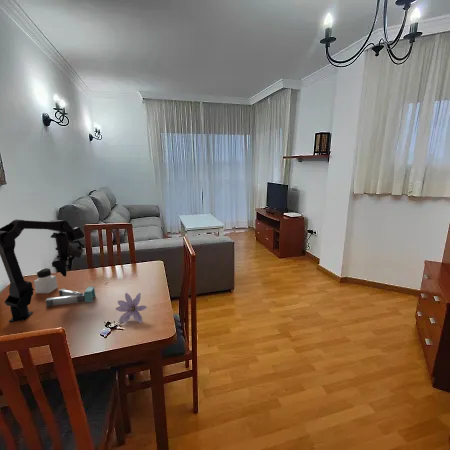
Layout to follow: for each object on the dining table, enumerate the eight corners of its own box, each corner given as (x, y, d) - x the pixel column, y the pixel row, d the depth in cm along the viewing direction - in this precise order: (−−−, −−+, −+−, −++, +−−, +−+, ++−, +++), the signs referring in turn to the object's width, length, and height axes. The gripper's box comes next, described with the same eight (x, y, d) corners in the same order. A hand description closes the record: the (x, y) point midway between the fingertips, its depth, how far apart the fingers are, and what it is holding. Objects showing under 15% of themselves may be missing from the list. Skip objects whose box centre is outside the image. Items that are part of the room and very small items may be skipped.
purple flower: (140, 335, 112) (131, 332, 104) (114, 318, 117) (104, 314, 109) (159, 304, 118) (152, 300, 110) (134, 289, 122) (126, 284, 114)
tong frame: (86, 298, 130) (85, 292, 129) (83, 302, 126) (82, 296, 125) (50, 302, 127) (49, 296, 126) (46, 306, 123) (45, 300, 122)
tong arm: (81, 296, 131) (80, 291, 130) (77, 299, 129) (76, 293, 128) (63, 293, 135) (62, 288, 134) (59, 295, 133) (58, 290, 132)
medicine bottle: (58, 287, 142) (54, 267, 140) (48, 293, 135) (44, 272, 133) (46, 287, 143) (42, 266, 140) (35, 293, 136) (31, 272, 133)
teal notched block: (95, 295, 132) (94, 286, 131) (92, 301, 126) (90, 291, 125) (89, 296, 131) (87, 287, 130) (85, 302, 126) (84, 292, 125)
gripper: (75, 248, 124) (79, 278, 127) (85, 238, 141) (89, 265, 145) (48, 250, 121) (54, 281, 125) (62, 239, 139) (67, 267, 142)
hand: (67, 273), depth 134 cm, fingers open, 8 cm apart
